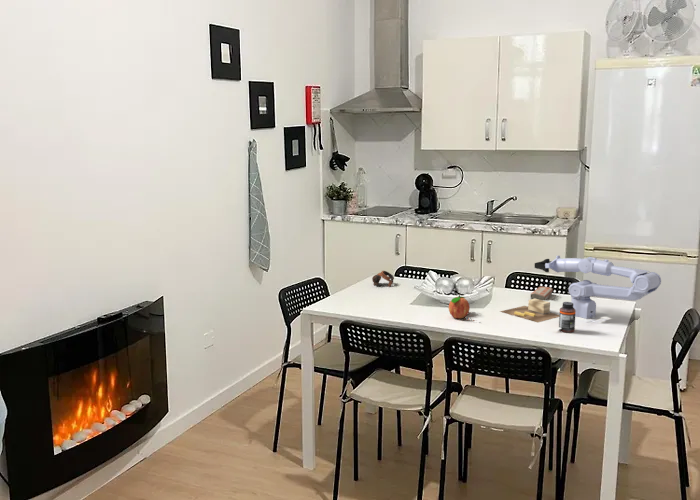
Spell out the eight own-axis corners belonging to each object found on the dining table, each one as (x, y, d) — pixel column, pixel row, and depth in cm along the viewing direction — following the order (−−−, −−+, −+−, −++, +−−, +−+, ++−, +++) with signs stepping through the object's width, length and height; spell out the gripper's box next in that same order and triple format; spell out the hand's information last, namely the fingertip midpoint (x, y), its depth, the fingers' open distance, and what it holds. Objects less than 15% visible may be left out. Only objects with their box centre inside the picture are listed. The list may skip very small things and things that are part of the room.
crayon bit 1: (525, 315, 287) (525, 314, 287) (523, 316, 287) (523, 314, 286) (516, 313, 291) (516, 311, 291) (514, 313, 291) (514, 311, 290)
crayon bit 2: (535, 316, 287) (535, 314, 287) (533, 316, 286) (533, 314, 286) (526, 313, 291) (526, 311, 291) (524, 313, 290) (524, 311, 290)
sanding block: (549, 313, 291) (550, 302, 291) (543, 314, 289) (543, 303, 288) (534, 308, 298) (534, 298, 297) (528, 310, 295) (528, 299, 295)
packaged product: (535, 284, 329) (556, 287, 324) (535, 294, 330) (556, 297, 325) (525, 292, 314) (547, 295, 309) (524, 303, 315) (546, 306, 310)
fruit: (473, 317, 291) (474, 294, 289) (461, 322, 284) (461, 298, 282) (456, 313, 296) (456, 290, 295) (443, 318, 289) (444, 294, 288)
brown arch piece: (379, 283, 355) (387, 269, 352) (391, 294, 349) (399, 280, 347) (364, 280, 346) (372, 267, 343) (375, 292, 340) (384, 278, 338)
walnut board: (562, 319, 287) (562, 315, 287) (537, 326, 278) (537, 322, 278) (524, 308, 303) (524, 305, 303) (499, 314, 294) (499, 311, 294)
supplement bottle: (563, 327, 276) (564, 300, 274) (577, 330, 272) (579, 302, 270) (555, 331, 272) (557, 302, 270) (570, 334, 268) (571, 305, 266)
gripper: (577, 255, 295) (549, 255, 305) (558, 255, 285) (530, 256, 296) (578, 271, 295) (550, 271, 305) (558, 273, 285) (530, 273, 296)
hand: (540, 265), depth 300 cm, fingers open, 7 cm apart
